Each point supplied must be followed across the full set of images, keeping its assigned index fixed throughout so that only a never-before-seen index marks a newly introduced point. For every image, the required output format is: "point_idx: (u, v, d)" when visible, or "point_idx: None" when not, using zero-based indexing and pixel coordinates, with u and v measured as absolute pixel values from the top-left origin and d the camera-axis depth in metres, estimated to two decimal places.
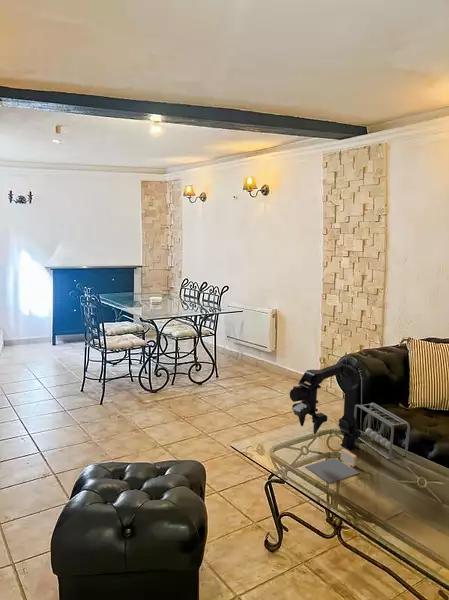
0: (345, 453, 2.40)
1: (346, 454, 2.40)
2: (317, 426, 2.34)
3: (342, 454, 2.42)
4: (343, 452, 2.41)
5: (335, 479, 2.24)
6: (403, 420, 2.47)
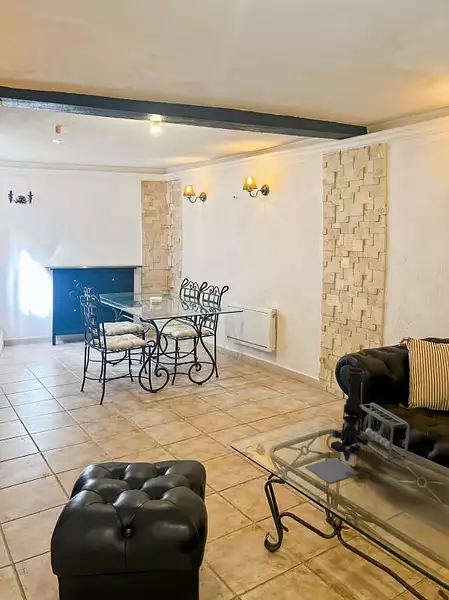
0: None
1: None
2: (345, 453, 2.38)
3: (342, 454, 2.42)
4: None
5: (335, 479, 2.24)
6: (403, 420, 2.47)
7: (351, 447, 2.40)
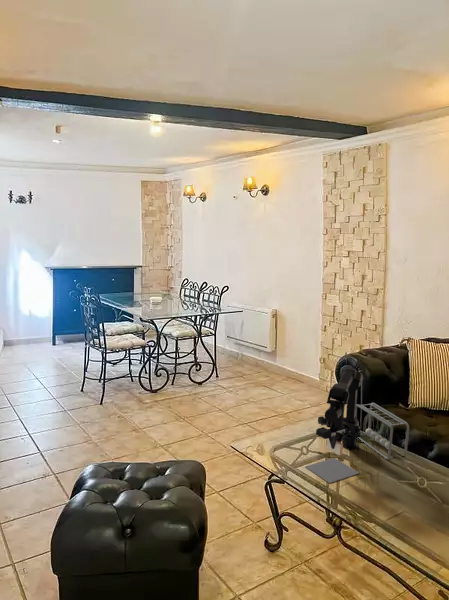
0: None
1: None
2: (331, 441, 2.27)
3: (328, 442, 2.31)
4: None
5: (335, 479, 2.24)
6: (403, 420, 2.47)
7: (337, 434, 2.29)
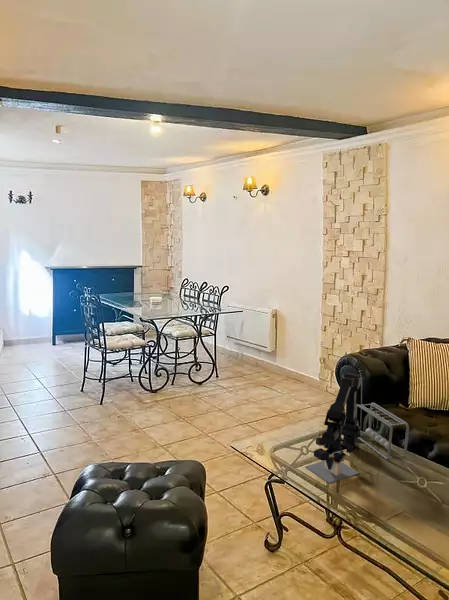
0: None
1: None
2: (328, 462, 2.28)
3: None
4: None
5: (335, 479, 2.24)
6: (402, 420, 2.47)
7: (336, 454, 2.31)
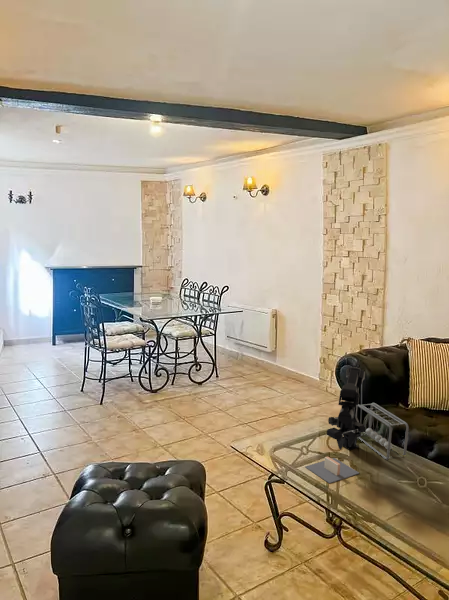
0: (329, 461, 2.31)
1: (330, 462, 2.30)
2: (339, 441, 2.30)
3: (326, 462, 2.33)
4: (327, 460, 2.32)
5: (335, 479, 2.24)
6: (402, 420, 2.47)
7: (351, 433, 2.34)
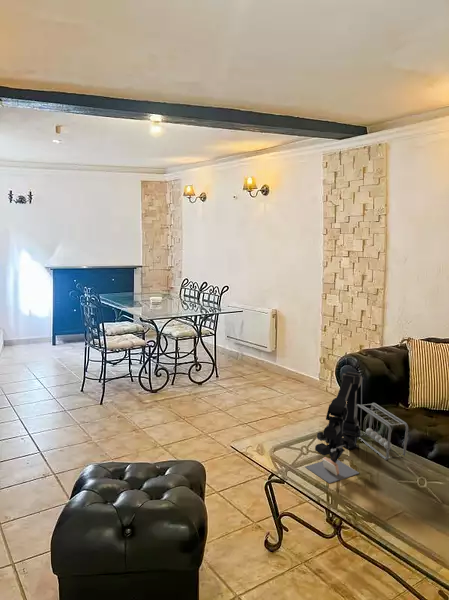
0: (326, 462, 2.30)
1: (327, 463, 2.30)
2: (332, 456, 2.29)
3: (324, 463, 2.32)
4: (324, 461, 2.31)
5: (335, 479, 2.24)
6: (401, 420, 2.46)
7: (335, 450, 2.30)
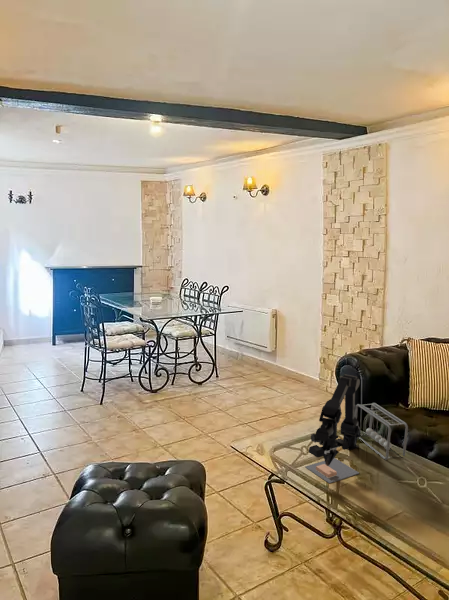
0: None
1: None
2: (326, 458, 2.27)
3: None
4: None
5: (335, 479, 2.24)
6: (401, 420, 2.46)
7: None
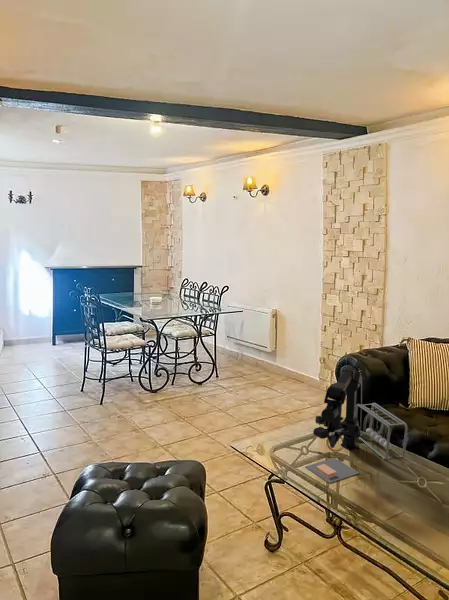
0: None
1: None
2: (330, 440, 2.27)
3: None
4: None
5: (335, 479, 2.24)
6: (401, 421, 2.46)
7: None
